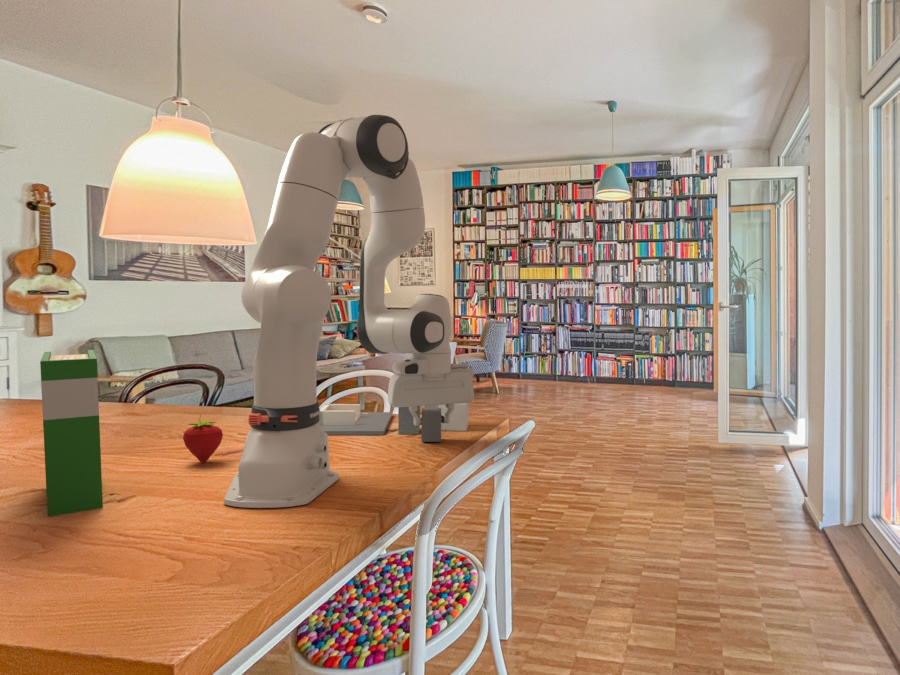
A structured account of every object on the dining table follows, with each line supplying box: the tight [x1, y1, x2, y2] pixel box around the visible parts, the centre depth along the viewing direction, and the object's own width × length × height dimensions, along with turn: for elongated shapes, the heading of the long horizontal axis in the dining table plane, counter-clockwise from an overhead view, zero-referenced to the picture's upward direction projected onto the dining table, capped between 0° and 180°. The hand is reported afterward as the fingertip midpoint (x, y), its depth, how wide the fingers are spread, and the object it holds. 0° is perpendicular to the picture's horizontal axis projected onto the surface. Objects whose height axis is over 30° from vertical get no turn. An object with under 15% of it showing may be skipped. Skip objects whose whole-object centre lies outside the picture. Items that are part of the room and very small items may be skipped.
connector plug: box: [421, 404, 442, 443], centre depth 143 cm, size 4×4×9 cm
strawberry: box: [182, 414, 224, 463], centre depth 125 cm, size 6×8×10 cm
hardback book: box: [39, 349, 104, 517], centre depth 103 cm, size 18×7×24 cm, turn 31°
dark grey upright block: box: [397, 406, 421, 435], centre depth 153 cm, size 6×5×9 cm
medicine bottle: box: [439, 403, 469, 432], centre depth 157 cm, size 7×7×12 cm
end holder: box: [318, 403, 393, 436], centre depth 161 cm, size 24×24×4 cm
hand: (431, 424), depth 143 cm, fingers closed on connector plug, 5 cm apart
